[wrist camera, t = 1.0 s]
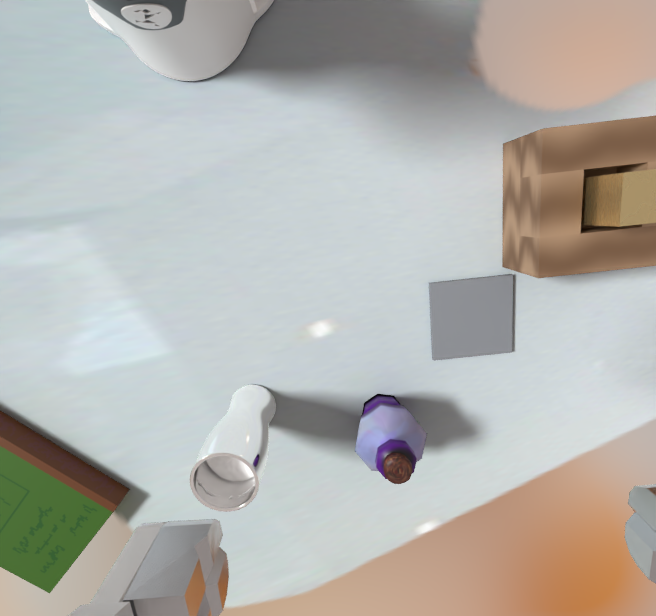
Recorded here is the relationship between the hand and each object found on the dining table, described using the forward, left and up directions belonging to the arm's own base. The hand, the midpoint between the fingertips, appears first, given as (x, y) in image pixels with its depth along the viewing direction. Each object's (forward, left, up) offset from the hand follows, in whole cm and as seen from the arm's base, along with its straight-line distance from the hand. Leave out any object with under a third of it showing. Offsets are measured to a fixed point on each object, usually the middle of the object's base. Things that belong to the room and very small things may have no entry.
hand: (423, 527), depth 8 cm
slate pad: (+8, +15, -40) cm, 43 cm away
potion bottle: (+20, +3, -40) cm, 45 cm away
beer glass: (+17, -14, -40) cm, 45 cm away
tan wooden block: (-5, +26, -36) cm, 44 cm away
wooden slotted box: (-5, +26, -40) cm, 48 cm away
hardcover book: (+26, -49, -40) cm, 68 cm away
